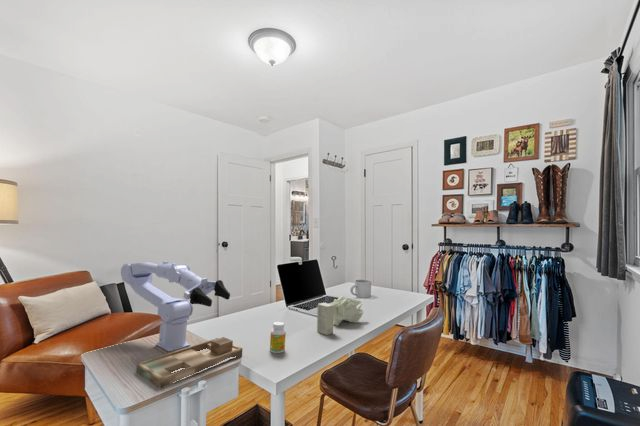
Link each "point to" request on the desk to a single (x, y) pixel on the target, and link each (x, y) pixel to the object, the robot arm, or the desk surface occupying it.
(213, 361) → the tray
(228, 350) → the walnut block
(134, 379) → the desk surface
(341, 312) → the wavy plaster lump
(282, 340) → the supplement bottle
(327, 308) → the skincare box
